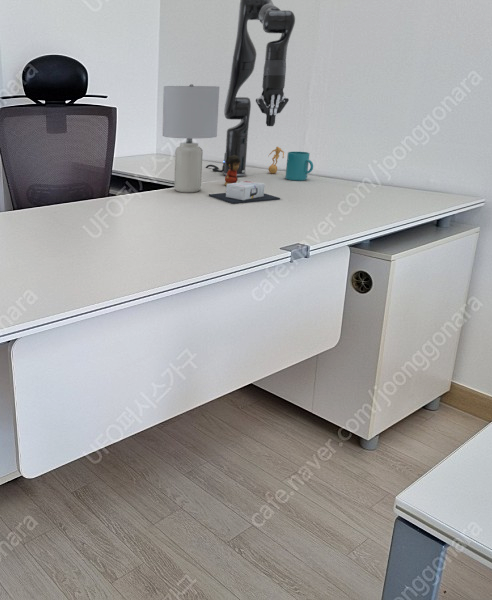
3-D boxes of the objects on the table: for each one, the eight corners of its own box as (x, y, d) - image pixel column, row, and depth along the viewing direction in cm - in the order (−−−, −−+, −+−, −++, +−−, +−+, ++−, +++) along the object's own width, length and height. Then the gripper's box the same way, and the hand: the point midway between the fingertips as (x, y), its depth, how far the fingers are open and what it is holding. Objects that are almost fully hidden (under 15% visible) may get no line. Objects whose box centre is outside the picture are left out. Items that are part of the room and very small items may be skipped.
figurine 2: (262, 172, 273) (264, 146, 269) (270, 171, 277) (272, 145, 272) (277, 175, 267) (279, 147, 263) (285, 173, 271) (288, 146, 266)
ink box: (245, 193, 221) (224, 197, 214) (246, 179, 219) (225, 183, 212) (264, 196, 215) (243, 201, 208) (265, 182, 213) (244, 187, 206)
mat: (209, 195, 220) (209, 194, 220) (254, 192, 227) (254, 190, 227) (232, 203, 206) (232, 202, 206) (279, 199, 214) (280, 197, 213)
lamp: (191, 184, 243) (195, 83, 229) (224, 192, 227) (231, 84, 213) (151, 189, 233) (152, 83, 219) (183, 197, 217) (187, 84, 203)
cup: (305, 182, 248) (308, 155, 244) (281, 179, 256) (283, 152, 252) (317, 180, 254) (320, 153, 250) (292, 176, 262) (295, 150, 258)
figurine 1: (221, 186, 240) (223, 155, 236) (225, 183, 245) (226, 154, 240) (237, 187, 238) (239, 156, 233) (240, 184, 242) (242, 155, 238)
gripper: (283, 74, 211) (278, 124, 217) (252, 74, 206) (248, 125, 212) (296, 74, 205) (291, 126, 211) (265, 74, 200) (260, 127, 206)
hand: (270, 126), depth 211 cm, fingers closed
